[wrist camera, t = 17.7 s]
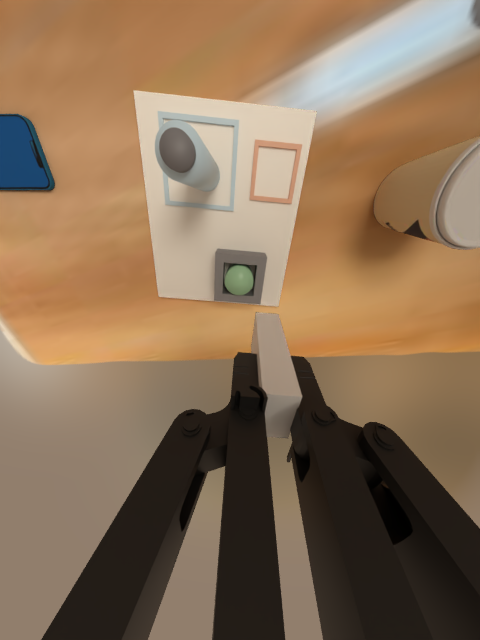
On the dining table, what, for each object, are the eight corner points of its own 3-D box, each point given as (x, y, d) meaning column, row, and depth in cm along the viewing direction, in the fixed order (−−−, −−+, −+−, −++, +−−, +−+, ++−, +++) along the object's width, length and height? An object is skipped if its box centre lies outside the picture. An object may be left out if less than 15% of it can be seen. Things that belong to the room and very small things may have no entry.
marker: (190, 155, 24) (146, 113, 13) (220, 157, 25) (201, 117, 13) (191, 190, 26) (154, 179, 15) (219, 192, 26) (202, 182, 15)
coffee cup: (358, 235, 30) (422, 252, 19) (378, 154, 25) (476, 117, 15) (424, 234, 29) (524, 250, 19) (456, 151, 25) (611, 112, 14)
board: (137, 94, 23) (118, 74, 19) (314, 114, 23) (326, 98, 20) (160, 294, 34) (151, 304, 31) (277, 304, 35) (281, 314, 32)
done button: (226, 261, 30) (225, 266, 27) (254, 263, 30) (255, 268, 27) (225, 287, 32) (224, 294, 29) (251, 289, 32) (251, 296, 29)
